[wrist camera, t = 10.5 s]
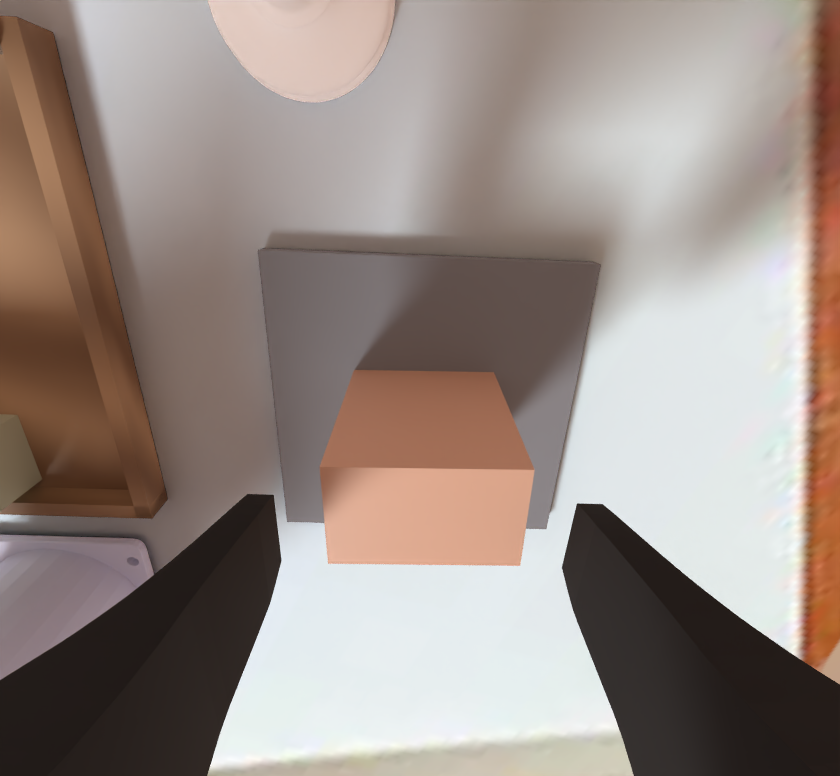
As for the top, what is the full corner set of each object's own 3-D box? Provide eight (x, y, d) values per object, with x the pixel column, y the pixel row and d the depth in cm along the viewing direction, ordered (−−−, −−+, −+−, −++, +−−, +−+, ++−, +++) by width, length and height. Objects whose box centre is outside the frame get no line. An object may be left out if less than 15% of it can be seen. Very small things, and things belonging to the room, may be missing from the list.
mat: (542, 519, 19) (546, 529, 19) (291, 512, 19) (287, 521, 18) (594, 261, 15) (600, 264, 14) (264, 248, 14) (257, 250, 14)
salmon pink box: (486, 443, 17) (519, 565, 11) (357, 442, 17) (328, 563, 11) (493, 372, 16) (534, 470, 10) (354, 369, 16) (319, 467, 10)
